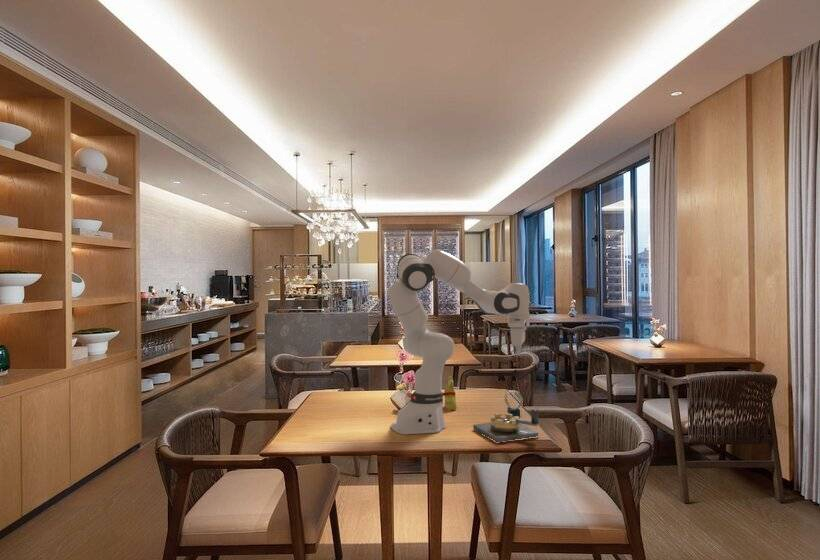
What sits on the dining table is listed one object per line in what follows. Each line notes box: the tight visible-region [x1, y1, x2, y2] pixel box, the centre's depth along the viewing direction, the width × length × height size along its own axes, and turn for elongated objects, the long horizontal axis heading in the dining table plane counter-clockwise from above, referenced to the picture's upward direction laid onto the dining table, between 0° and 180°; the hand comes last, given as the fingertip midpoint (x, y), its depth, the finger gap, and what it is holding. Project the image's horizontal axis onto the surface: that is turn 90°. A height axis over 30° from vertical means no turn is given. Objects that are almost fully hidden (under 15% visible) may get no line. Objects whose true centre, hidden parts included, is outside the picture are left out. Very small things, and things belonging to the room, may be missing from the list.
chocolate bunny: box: [443, 376, 457, 411], centre depth 224 cm, size 7×11×15 cm, turn 8°
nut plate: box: [472, 421, 539, 442], centre depth 186 cm, size 18×18×2 cm
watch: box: [504, 389, 524, 417], centre depth 211 cm, size 6×8×11 cm
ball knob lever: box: [489, 408, 539, 432], centre depth 184 cm, size 19×11×9 cm, turn 57°
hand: (518, 354), depth 198 cm, fingers closed
